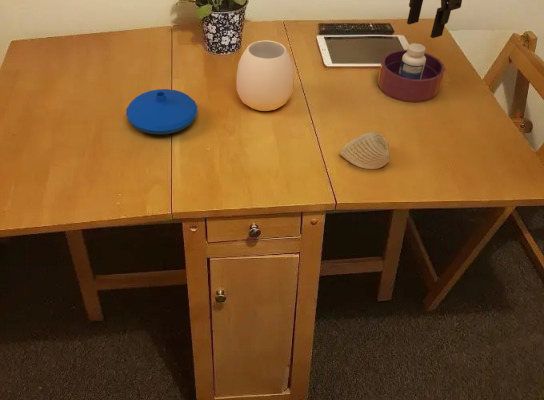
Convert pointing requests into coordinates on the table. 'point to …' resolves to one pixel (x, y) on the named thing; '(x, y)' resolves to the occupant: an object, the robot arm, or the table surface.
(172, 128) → the blue lid with knob
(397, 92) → the bowl
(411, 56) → the pill bottle
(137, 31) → the table surface
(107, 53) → the table surface
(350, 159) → the seashell
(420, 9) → the robot arm
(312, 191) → the table surface
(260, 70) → the white rounded pot
